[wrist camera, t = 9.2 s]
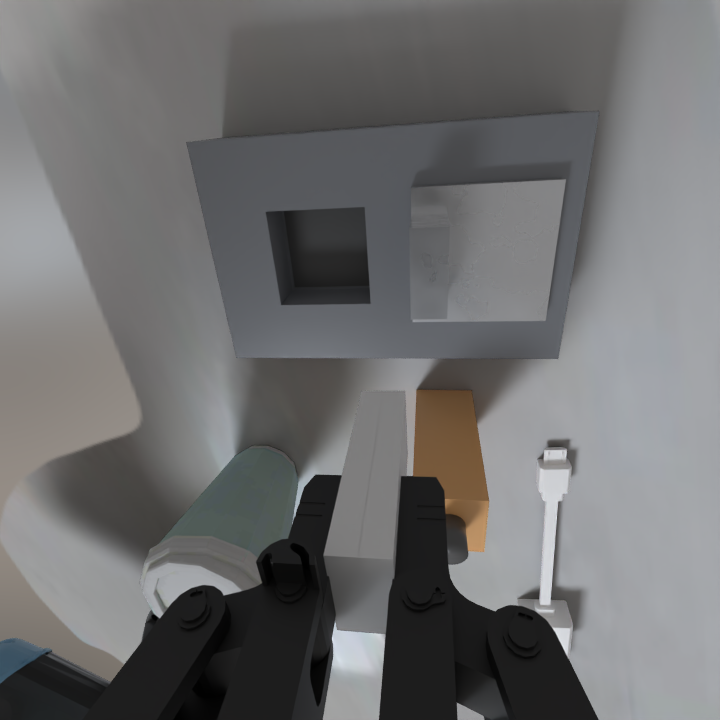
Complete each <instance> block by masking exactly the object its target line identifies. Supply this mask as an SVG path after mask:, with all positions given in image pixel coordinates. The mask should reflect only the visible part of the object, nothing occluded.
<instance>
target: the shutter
mask: <svg viewBox="0 0 720 720" xmlns="http://www.w3.org/2000/svg"><path fill="white" fill-rule="evenodd" d="M565 183H566V179H564V178H552V179H534V180H516V181H497V182H479V183H461V184H443V185H424V186H411V221H410V227H409V242H410V307H411V320H413V322H481V321H546V315H547V308H548V301H549V294H550V287H551V280H552V273H553V266H554V259H555V252H556V245H557V239H558V232H559V225H560V218H561V211H562V204H563V197H564V190H565Z"/></svg>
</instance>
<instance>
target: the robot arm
mask: <svg viewBox="0 0 720 720" xmlns="http://www.w3.org/2000/svg"><path fill="white" fill-rule="evenodd" d="M407 457H408V449H407V425H406V400H405V391H361V395H360V399H359V404H358V408H357V412H356V417H355V421H354V425H353V430H352V434H351V438H350V443H349V447H348V451H347V456H346V460H345V464H344V469H343V473H342V475H315V476H314V477H313V478H312V479H311V480H310V481H309V483H308V484H307V485H306V486H305V487H304V490H303V493H302V496H301V499H300V505H299V506H298V509H297V512H296V517H295V518H294V521H293V524H292V527H291V530H290V533H289V536H288V539H281V540H279V541H277V542H274V543H272V544H270V545H269V546H268V547H267V548H266V549H264V550H263V551H262V552H261V554H260V555H259V557H258V559H257V560H256V564H257V568H258V571H259V575H260V578H261V581H262V583H261V584H260V585H258V586H256V587H253V588H250V589H248V590H244V591H240V592H236V593H232V594H228V595H223V593H222V591H221V590H219V589H218V588H216V587H215V586H210V585H201V586H197V587H193V588H191V589H189V590H187V591H185V592H184V593H182V594H180V595H179V596H178V597H177V598H176V599H175V600H174V601H173V602H172V603H171V605H170V606H169V607H168V608H167V610H166V611H165V612H164V614H163V615H162V616H161V618H159V617H157V616H156V615H155V614H154V613H153V611H152V609H151V611H150V612H149V614H148V617H147V619H146V623H145V628H144V632H143V637H142V641H141V644H140V645H139V646H138V648H137V649H136V650H135V651H134V653H133V654H132V655H131V657H130V658H129V659H128V661H127V662H126V663H125V665H124V666H123V667H122V669H121V670H120V671H119V672H118V674H117V675H116V676H115V678H114V679H113V680H112V682H110V681H108V680H106V679H103V678H102V677H100V676H98V675H96V674H94V673H92V672H90V671H88V670H86V669H84V668H82V667H80V666H78V665H76V664H74V663H72V662H70V661H69V660H66V659H65V658H63V657H61V656H59V655H56V654H55V653H53V652H52V650H51V649H49V648H45V649H43V648H41V647H38V646H36V645H34V644H31V643H29V642H26V641H24V640H22V639H18V638H10V639H6V640H3V641H1V642H0V720H323V714H324V708H325V702H326V696H327V690H328V684H329V678H330V672H331V666H332V660H333V643H332V634H333V628H334V623H335V622H336V627H337V630H342V631H354V632H366V633H378V634H386V638H385V651H384V663H383V676H382V689H381V702H380V715H379V720H457V703H459V704H461V705H463V706H465V707H467V708H469V709H471V710H473V711H475V712H477V713H479V714H481V715H483V716H484V719H485V720H598V718H597V716H596V714H595V712H594V710H593V708H592V706H591V703H590V701H589V699H588V697H587V695H586V693H585V691H584V689H583V687H582V685H581V683H580V681H579V679H578V677H577V675H576V673H575V671H574V669H573V667H572V665H571V663H570V661H569V659H568V657H567V655H566V653H565V651H564V649H563V647H562V645H561V643H560V641H559V639H558V637H557V635H556V633H555V631H554V630H553V628H552V627H551V626H550V624H549V623H548V621H547V620H546V619H545V618H543V617H542V616H541V615H539V614H538V613H537V612H536V611H534V610H531V609H529V608H526V607H523V606H515V605H508V606H505V607H503V608H500V609H498V610H497V611H496V612H495V611H492V610H490V609H487V608H485V607H482V606H480V605H477V604H475V603H473V602H471V601H469V600H468V599H466V598H465V597H464V596H463V595H461V594H460V593H459V591H458V590H457V589H456V588H455V586H454V585H453V583H452V581H451V579H450V575H449V569H448V550H447V530H446V511H445V492H444V489H443V487H442V486H441V484H440V482H439V481H438V479H437V477H419V476H407Z"/></svg>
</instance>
